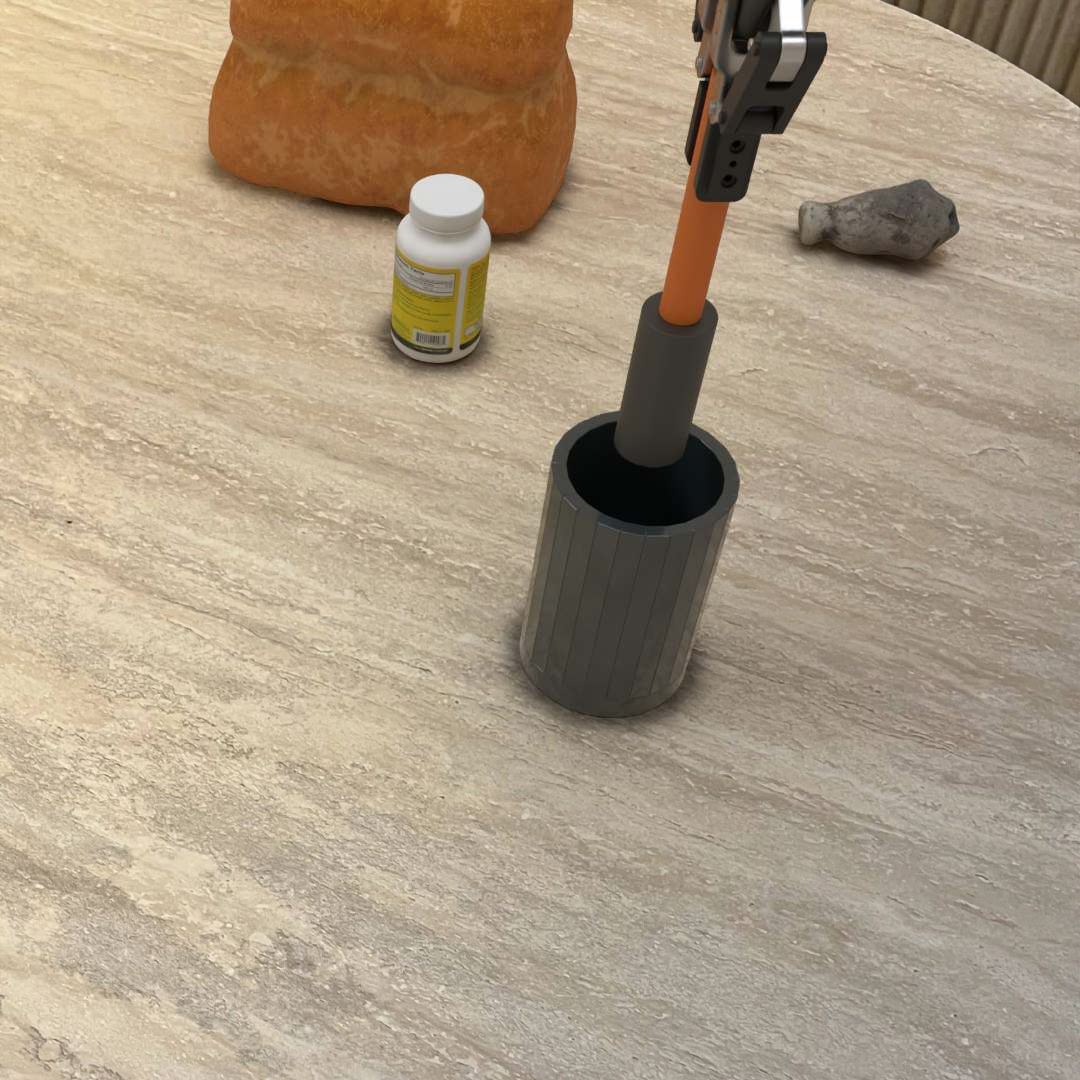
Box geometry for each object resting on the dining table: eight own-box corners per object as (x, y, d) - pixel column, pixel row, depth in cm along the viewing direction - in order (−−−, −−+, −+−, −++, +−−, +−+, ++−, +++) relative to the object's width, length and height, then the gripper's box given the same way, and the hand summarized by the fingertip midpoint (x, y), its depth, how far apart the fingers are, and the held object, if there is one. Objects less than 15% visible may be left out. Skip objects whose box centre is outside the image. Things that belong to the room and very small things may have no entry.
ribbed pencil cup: (672, 594, 101) (723, 409, 90) (697, 717, 95) (754, 536, 84) (512, 594, 101) (542, 409, 90) (527, 717, 95) (562, 536, 84)
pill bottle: (455, 301, 118) (470, 157, 109) (495, 353, 115) (514, 209, 106) (374, 322, 117) (383, 178, 108) (412, 375, 113) (425, 231, 104)
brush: (679, 420, 87) (772, 49, 71) (689, 468, 85) (788, 95, 69) (609, 420, 87) (687, 48, 71) (618, 467, 85) (700, 95, 69)
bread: (531, 257, 121) (565, 24, 108) (192, 182, 127) (183, -50, 113) (585, 142, 130) (623, -87, 116) (266, 76, 136) (266, -150, 122)
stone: (780, 259, 123) (852, 242, 115) (788, 181, 122) (860, 158, 115) (893, 275, 126) (969, 259, 119) (901, 199, 125) (978, 178, 118)
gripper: (968, -167, 56) (829, 276, 70) (878, -331, 65) (770, 94, 78) (743, -169, 56) (648, 275, 70) (682, -332, 65) (608, 93, 78)
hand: (713, 178), depth 74 cm, fingers closed on brush, 2 cm apart
